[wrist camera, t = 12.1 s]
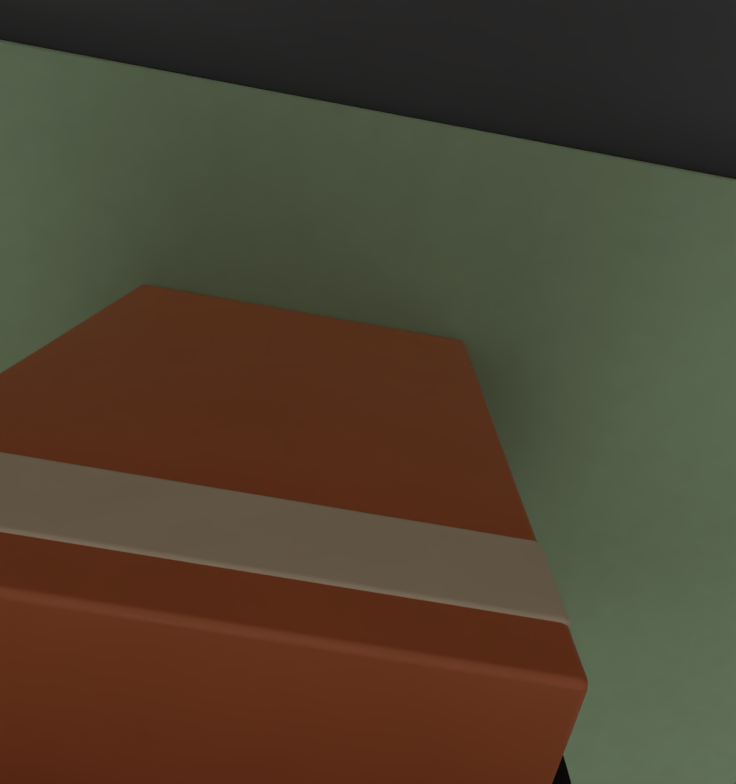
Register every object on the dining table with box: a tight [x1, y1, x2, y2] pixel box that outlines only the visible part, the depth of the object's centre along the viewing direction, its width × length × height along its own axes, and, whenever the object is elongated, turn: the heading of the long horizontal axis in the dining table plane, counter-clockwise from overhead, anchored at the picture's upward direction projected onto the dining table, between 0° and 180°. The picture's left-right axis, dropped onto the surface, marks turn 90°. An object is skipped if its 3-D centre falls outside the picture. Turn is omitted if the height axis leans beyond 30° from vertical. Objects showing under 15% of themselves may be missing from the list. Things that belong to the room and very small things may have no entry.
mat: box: [0, 40, 736, 784], centre depth 12 cm, size 20×14×1 cm
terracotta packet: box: [0, 284, 588, 784], centre depth 9 cm, size 5×8×7 cm, turn 170°
